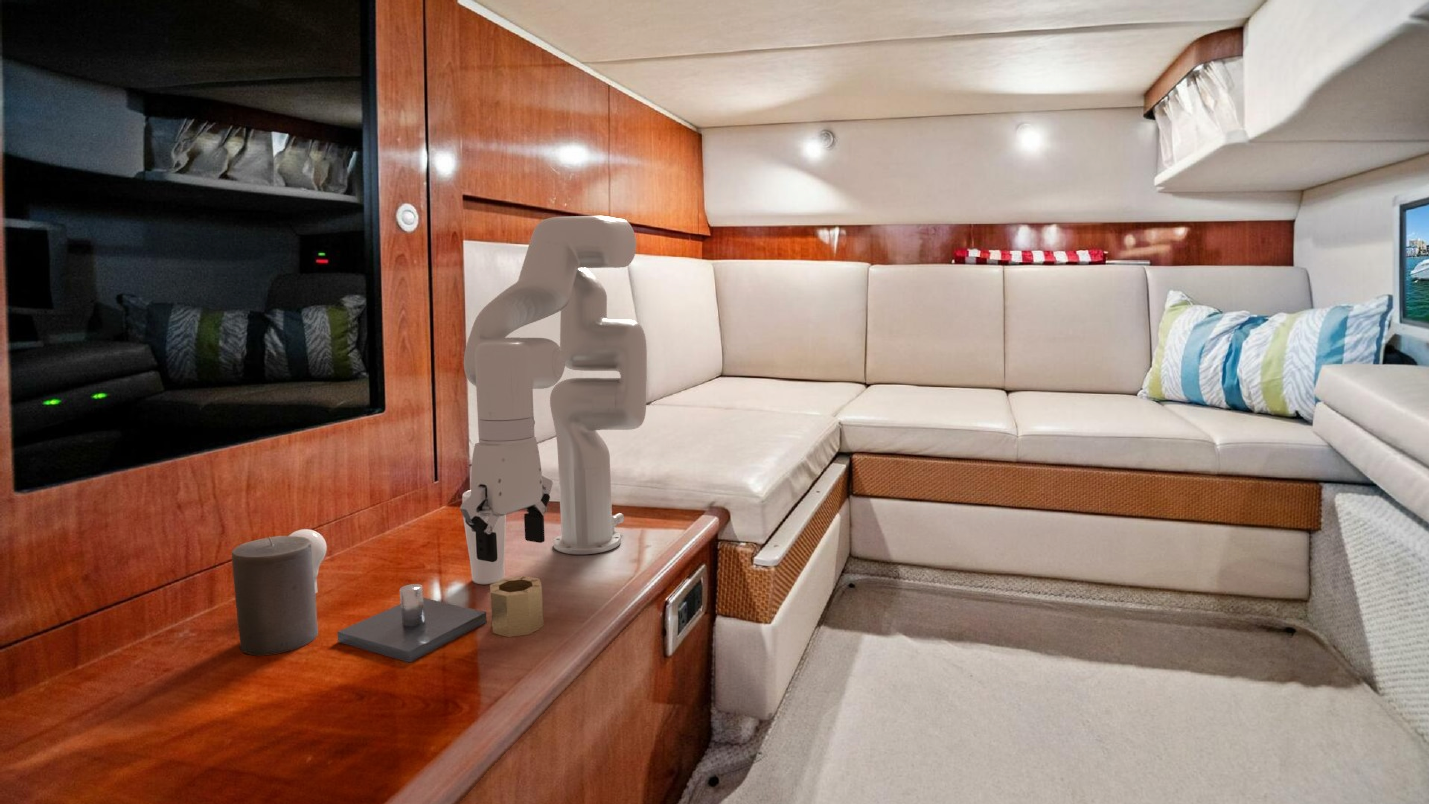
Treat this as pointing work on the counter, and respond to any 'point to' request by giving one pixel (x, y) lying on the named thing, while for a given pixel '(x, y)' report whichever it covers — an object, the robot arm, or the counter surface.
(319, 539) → the lightbulb
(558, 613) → the counter surface
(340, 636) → the shaft block
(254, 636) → the pillar candle
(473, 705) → the counter surface
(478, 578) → the drinking glass
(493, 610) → the hub ring
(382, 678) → the counter surface
